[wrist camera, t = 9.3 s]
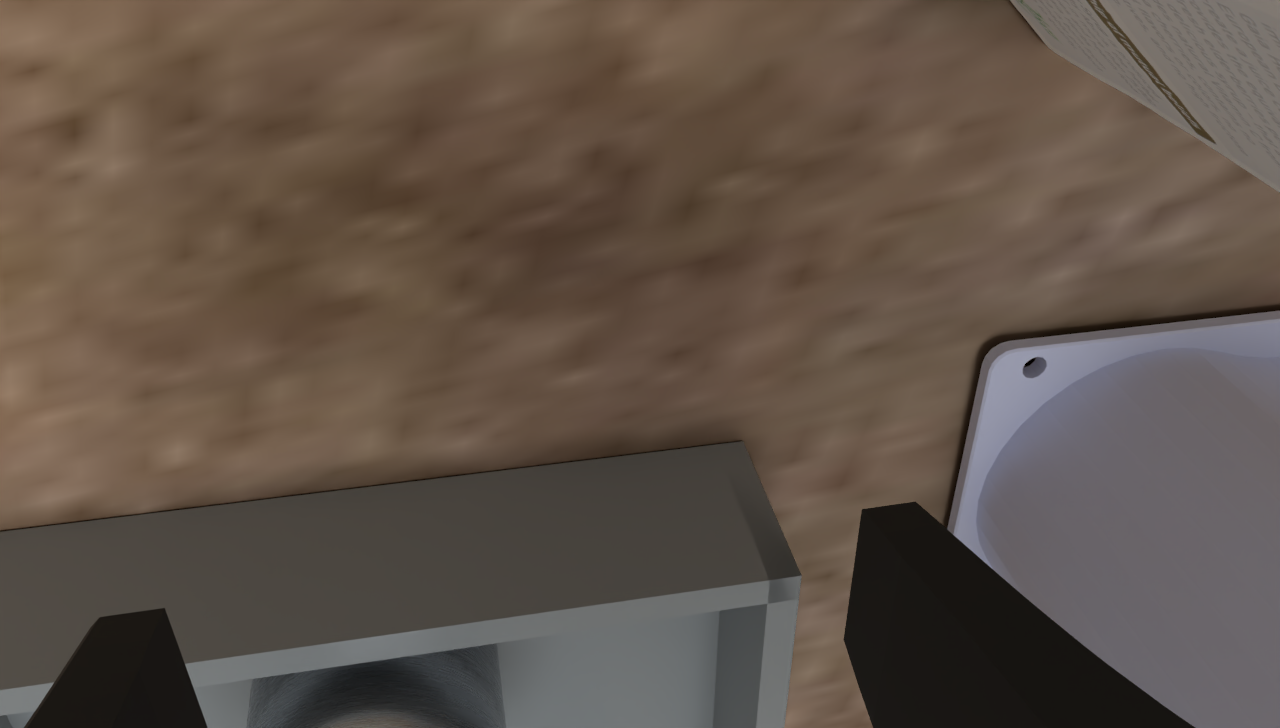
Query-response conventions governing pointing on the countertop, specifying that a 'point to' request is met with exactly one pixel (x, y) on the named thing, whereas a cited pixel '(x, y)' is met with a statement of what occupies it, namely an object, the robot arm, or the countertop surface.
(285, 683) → the metal can
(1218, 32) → the syrup box
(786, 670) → the tote
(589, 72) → the countertop surface
